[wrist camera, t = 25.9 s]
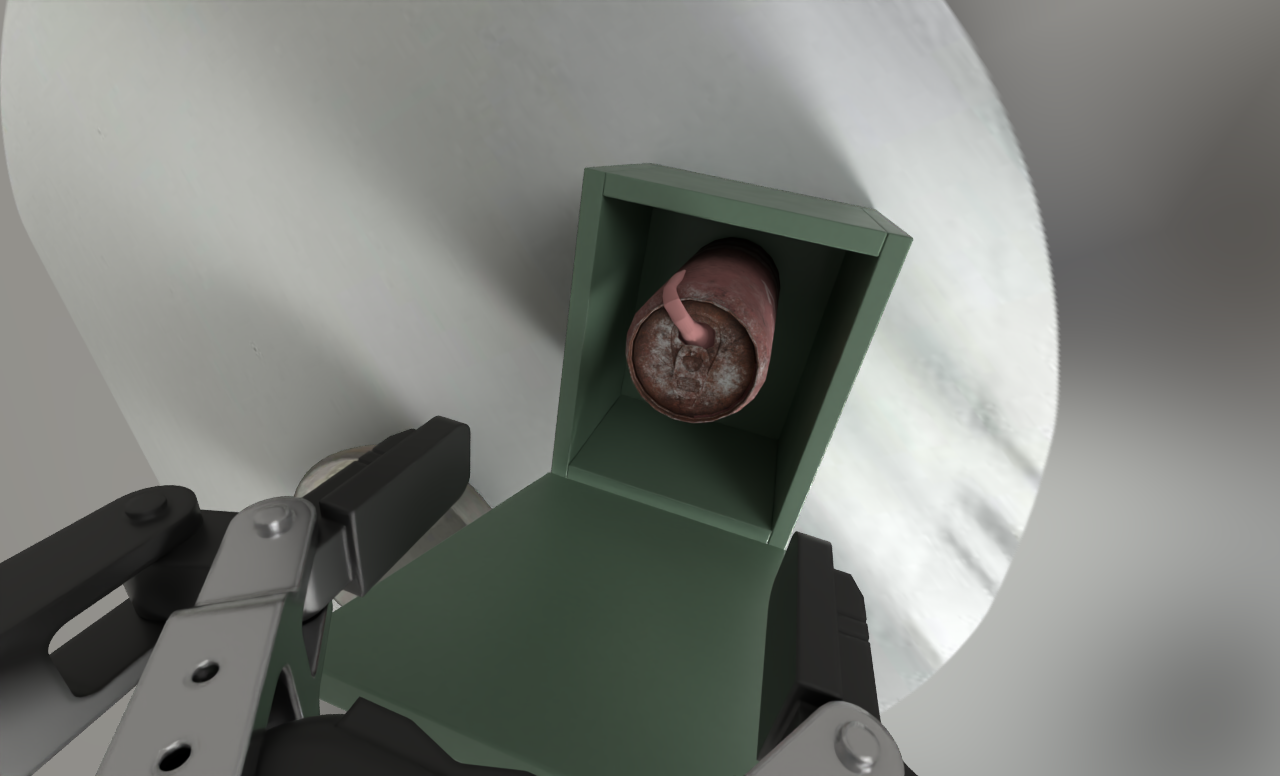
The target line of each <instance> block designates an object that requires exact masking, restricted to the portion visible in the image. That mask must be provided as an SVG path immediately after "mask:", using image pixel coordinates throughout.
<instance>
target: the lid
mask: <svg viewBox="0 0 1280 776" xmlns="http://www.w3.org/2000/svg"><path fill="white" fill-rule="evenodd" d="M785 553H786V550H784V549H781V548H778V547H775V546H772V545H769V544H766V543H763V542H760V541H757V540H754V539H750V538H747V537H744V536H741V535H738V534H735V533H732V532H729V531H726V530H723V529H720V528H717V527H714V526H711V525H708V524H705V523H702V522H699V521H696V520H693V519H690V518H687V517H684V516H681V515H678V514H675V513H671V512H668V511H665V510H662V509H659V508H656V507H653V506H650V505H647V504H644V503H641V502H638V501H635V500H632V499H629V498H626V497H623V496H620V495H617V494H614V493H611V492H608V491H605V490H602V489H599V488H596V487H592V486H589V485H586V484H583V483H580V482H577V481H574V480H571V479H568V478H565V477H562V476H559V475H556V474H553V473H550V472H549V473H547V474H546V475H544V476H543V477H541V478H540V479H538V480H536V481H535V482H533V483H532V484H530V485H529V486H527V487H526V488H524V489H523V490H521V491H519V492H518V493H516V494H515V495H513V496H512V497H510V498H509V499H507V500H506V501H504V502H502V503H501V504H499V505H498V506H496V507H495V508H493V509H492V510H490V511H489V512H487V513H485V514H484V515H482V516H481V517H479V518H478V519H476V520H475V521H473V522H472V523H470V524H468V525H467V526H465V527H464V528H462V529H461V530H459V531H458V532H456V533H455V534H453V535H451V536H450V537H448V538H447V539H445V540H444V541H442V542H441V543H439V544H438V545H436V546H434V547H433V548H431V549H430V550H428V551H427V552H425V553H424V554H422V555H421V556H419V557H417V558H416V559H414V560H413V561H411V562H410V563H408V564H407V565H405V566H404V567H402V568H400V569H399V570H397V571H396V572H394V573H393V574H391V575H390V576H388V577H387V578H385V579H383V580H382V581H380V582H379V583H377V584H376V585H374V586H373V587H372V588H371V589H370V590H369V591H368V592H367V593H366V594H365V595H364V596H363V597H359V596H357V597H356V598H354V599H353V600H351V601H349V602H348V603H346V604H345V605H343V606H342V607H340V608H339V609H337V610H336V611H334V612H332V616H331V623H330V629H329V635H328V641H327V648H326V654H325V660H324V666H323V672H322V679H321V685H320V696H319V699H321V700H323V701H325V702H327V703H330V704H332V705H334V706H336V707H338V708H341V709H343V710H345V711H348V710H349V709H350V708H351V706H352V705H353V704H354V703H355V701H356V700H357V699H358V698H359V696H360V697H362V698H365V699H367V700H369V701H371V702H373V703H376V704H378V705H380V706H382V707H385V708H387V709H389V710H391V711H394V712H396V713H398V714H400V715H403V716H405V717H407V718H409V719H411V720H413V721H414V722H415V723H416V724H417V725H418V726H419V727H420V728H421V729H422V730H423V731H424V732H425V733H426V734H427V735H428V736H429V737H430V738H432V739H433V740H434V741H435V742H436V743H437V744H438V745H439V746H440V747H441V748H442V749H443V750H444V751H445V752H446V753H447V754H448V755H449V756H451V757H452V758H453V759H454V760H455V761H457V762H460V763H464V764H472V765H481V766H490V767H498V768H507V769H516V770H524V771H528V772H530V773H532V774H535V775H537V776H744V775H745V774H746V773H747V772H748V771H750V770H751V769H752V768H753V767H754V766H755V765H756V764H757V763H758V762H760V761H758V760H756V758H757V745H758V731H759V718H760V705H761V692H762V679H763V666H764V653H765V640H766V627H767V614H768V604H769V598H770V593H771V589H772V586H773V583H774V580H775V577H776V575H777V572H778V570H779V567H780V565H781V563H782V560H783V558H784V555H785Z"/></svg>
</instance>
